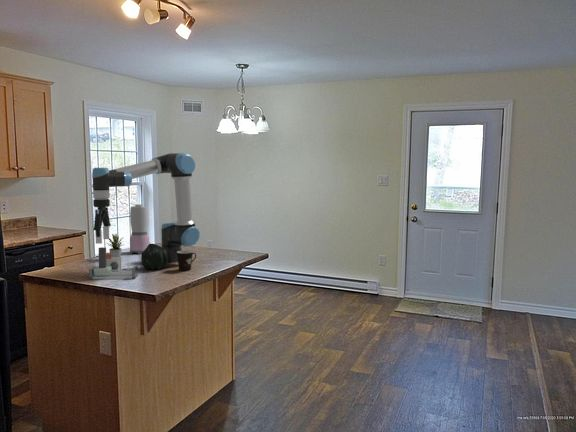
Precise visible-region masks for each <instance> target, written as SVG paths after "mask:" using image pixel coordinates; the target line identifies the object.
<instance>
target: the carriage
mask: <svg viewBox="0 0 576 432" xmlns="http://www.w3.org/2000/svg"><path fill="white" fill-rule="evenodd" d="M106 253H107V247H106V246H104V247H98V265H96V268H94V275H109V271H111V269H112V266H106Z"/></svg>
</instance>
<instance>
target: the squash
mask: <svg viewBox="0 0 576 432" xmlns="http://www.w3.org/2000/svg"><path fill="white" fill-rule="evenodd" d="M140 260H141V265H142V267H144V268H145V269H146V270H154V271H155V270H161V269H162V268H165V267H166V266H167V265H168V263H169V262H168V260H169V256H168V253H167V251H166V250H165V249H163V248H162V246H160V245H158V244H155V243H149V245H148V246H147V248H146V249H145V250H144V252H142V254H141V257H140Z"/></svg>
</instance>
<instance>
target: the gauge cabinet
mask: <svg viewBox="0 0 576 432" xmlns="http://www.w3.org/2000/svg"><path fill="white" fill-rule="evenodd" d="M106 266H112V269H111V271H122V257H121V256H120V257H111V259H106Z"/></svg>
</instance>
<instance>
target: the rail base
mask: <svg viewBox="0 0 576 432" xmlns="http://www.w3.org/2000/svg"><path fill="white" fill-rule="evenodd" d="M96 267H97V265H96V266H95V265H94V266H92V267H90V268H88V280H131V279H133V280H134V279H137V277H138V276H139V266H138V265H135V266H133V267H132V268H131V270H121V271H109V275H94V268H96Z"/></svg>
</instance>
